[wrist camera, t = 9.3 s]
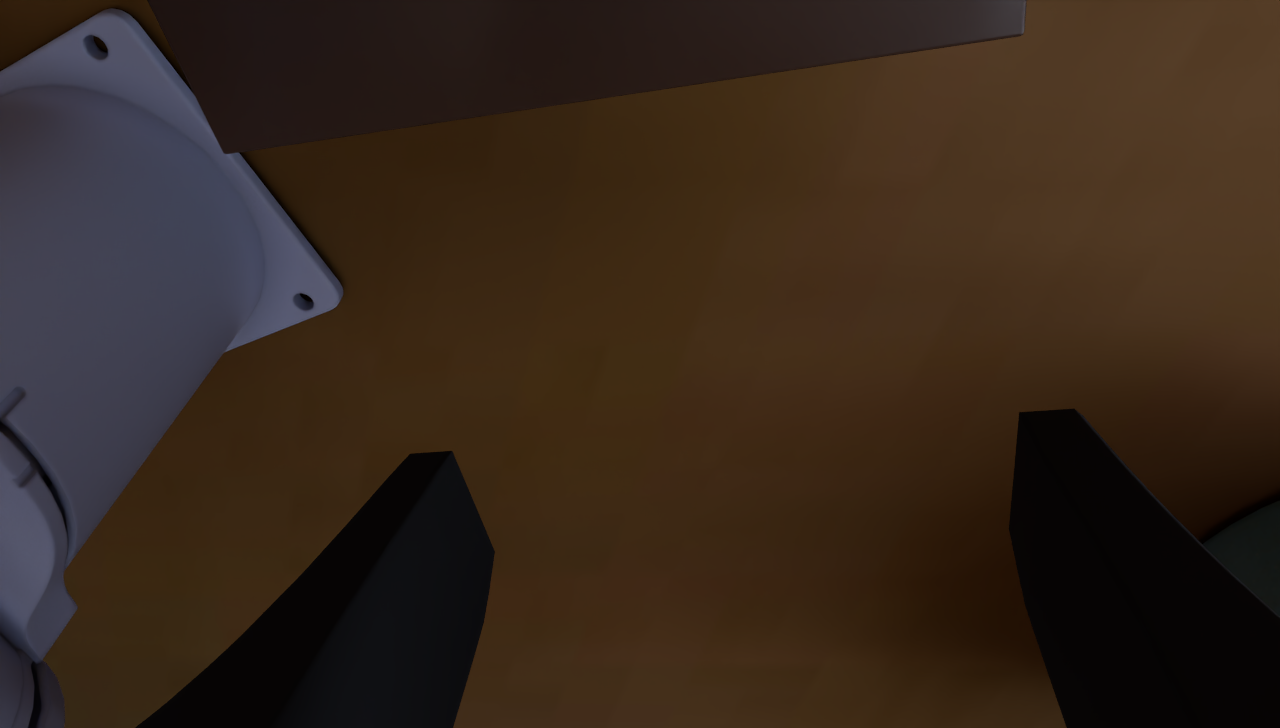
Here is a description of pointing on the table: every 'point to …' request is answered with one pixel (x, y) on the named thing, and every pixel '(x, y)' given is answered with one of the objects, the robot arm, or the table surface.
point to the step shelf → (516, 53)
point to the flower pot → (1253, 552)
